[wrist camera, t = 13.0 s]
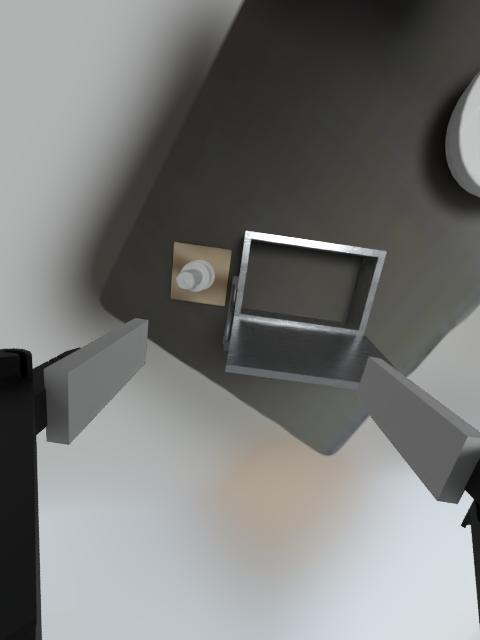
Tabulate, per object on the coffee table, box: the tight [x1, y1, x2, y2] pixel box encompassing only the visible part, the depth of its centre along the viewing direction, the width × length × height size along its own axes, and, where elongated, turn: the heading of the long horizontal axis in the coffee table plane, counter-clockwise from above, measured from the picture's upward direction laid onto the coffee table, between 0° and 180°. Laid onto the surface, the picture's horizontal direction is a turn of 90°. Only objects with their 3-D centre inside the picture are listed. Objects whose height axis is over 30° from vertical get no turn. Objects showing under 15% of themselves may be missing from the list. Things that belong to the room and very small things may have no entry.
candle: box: [176, 260, 215, 292], centre depth 38 cm, size 5×5×12 cm
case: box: [222, 231, 399, 390], centre depth 35 cm, size 17×23×19 cm
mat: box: [170, 242, 232, 306], centre depth 44 cm, size 10×10×1 cm
